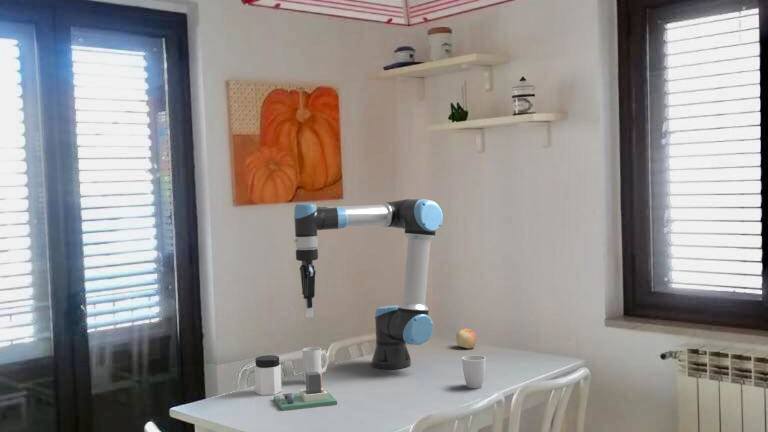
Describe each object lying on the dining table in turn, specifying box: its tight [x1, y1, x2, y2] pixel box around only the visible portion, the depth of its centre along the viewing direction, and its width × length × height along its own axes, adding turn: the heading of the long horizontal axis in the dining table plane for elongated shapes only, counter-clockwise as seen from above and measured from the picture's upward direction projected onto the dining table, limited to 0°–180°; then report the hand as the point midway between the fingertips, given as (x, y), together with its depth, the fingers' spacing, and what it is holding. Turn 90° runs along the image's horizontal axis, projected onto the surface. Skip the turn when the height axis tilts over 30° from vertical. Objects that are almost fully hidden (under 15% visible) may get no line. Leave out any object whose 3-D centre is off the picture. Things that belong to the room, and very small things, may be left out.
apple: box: [455, 328, 478, 349], centre depth 344 cm, size 9×9×8 cm
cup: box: [461, 354, 487, 389], centre depth 282 cm, size 8×8×10 cm
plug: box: [305, 371, 323, 395], centre depth 268 cm, size 5×4×8 cm
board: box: [273, 386, 338, 412], centre depth 267 cm, size 18×14×4 cm
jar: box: [254, 354, 282, 396], centre depth 280 cm, size 9×8×12 cm
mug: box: [302, 346, 329, 384], centre depth 294 cm, size 10×7×12 cm, turn 127°
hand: (309, 316), depth 280 cm, fingers closed
